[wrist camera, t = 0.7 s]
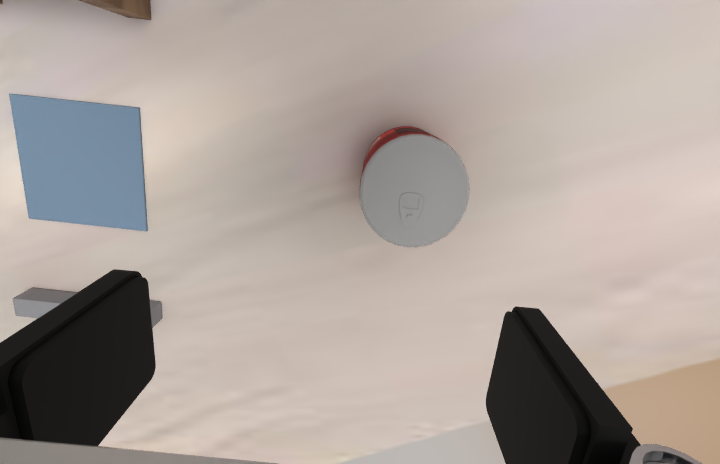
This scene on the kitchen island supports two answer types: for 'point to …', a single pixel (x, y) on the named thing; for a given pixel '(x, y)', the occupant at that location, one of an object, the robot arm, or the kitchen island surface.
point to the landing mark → (81, 161)
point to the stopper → (58, 303)
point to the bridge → (124, 7)
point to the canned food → (413, 187)
